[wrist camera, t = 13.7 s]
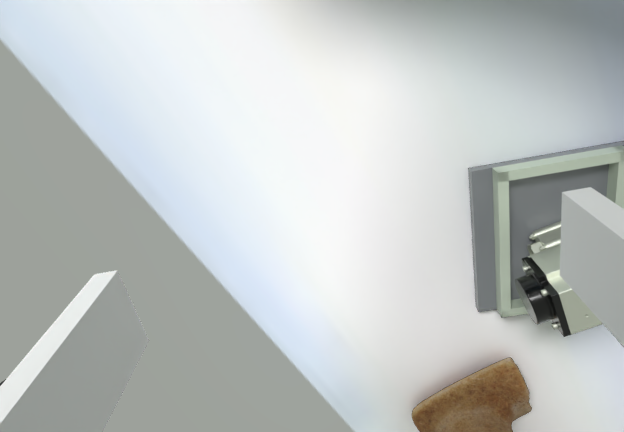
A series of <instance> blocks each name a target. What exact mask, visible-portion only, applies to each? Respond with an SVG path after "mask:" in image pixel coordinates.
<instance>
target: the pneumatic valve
mask: <svg viewBox="0 0 624 432" xmlns="http://www.w3.org/2000/svg"><path fill="white" fill-rule="evenodd" d="M529 238H530V239H532V240H534V239H535V243H532V244H529V245H528V246H527V248H528V251H529V254H530V256H527V257H525V258H522V259H521V260H522V263H523V267H522V268H523V271H524V272H526V275H525V276H522V277H519V278H516V279H515V285H516V288H517V291H518V294H519V296H520V298H521V301H522V303H523V305H524V307H525V308H526V310H527V312H528V314H529V315H530V317H531V319H532V320H533V321H534V322H535V323H536V324H541V323H544V322H547V321H550V320H552V321H553V323H551V325H552V327H553V329H558V330H559V331H560V332H561V334H562V335H563V336H564V337H565V336H568V335H571V334H574V333H577V332H580V331H583V330H586V329H589V328H592V327H595V326H598V325H601V324H603V323H602V322H601V321H600V320H599V319H598V318H597V317H596V316H595V314H594V313H593V312H592V311H591V310H590V309H589V308H588V307H587V305H586V304H585V303H584V302H583V301H582V300H581V299H580V298H579V296H578V295H577V294H576V293H575V292H574V291H573V290H572V289H571V287H570V286H569V285H568V284H567V283H566V282H565V281H564V280H563V279H562V277H561V276H560V246H561V221H559V222H556V223H554V224H551V225H548V226H546V227H543V228H541V229H538V230H535V231H533V232H532V234H531V235H530V236H529Z"/></svg>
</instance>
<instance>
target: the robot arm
mask: <svg viewBox="0 0 624 432" xmlns="http://www.w3.org/2000/svg"><path fill="white" fill-rule="evenodd" d="M560 276H561V277H562V279H563V280H564V281H565V282H566V283H567V284H568V285H569V286H570V287H571V289H572V290H573V291H574V292H575V293H576V294H577V295H578V296H579V298H580V299H581V300H582V301H583V302H584V303H585V304H586V305H587V307H588V308H589V309H590V310H591V311H592V312H593V313H594V314H595V316H596V317H597V318H598V319H599V320H600V321H601V322H602V323H603V325H604V326H605V327H606V328H607V329H608V330H609V331H610V332H611V334H612V335H613V336H614V337H615V338H616V339H617V340H618V341H619V343H620V344H621V345H622V346H623V347H624V209H623V208H621V207H620V206H618V205H617V204H615V203H614V202H612V201H611V200H609V199H608V198H606V197H605V196H603V195H602V194H600V193H599V192H597V191H596V190H594V189H593V188H591V187H588V188H582V189H577V190H571V191H565V192H562V208H561V246H560ZM148 342H149V339H148V336H147V334H146V332H145V330H144V328H143V325H142V323H141V321H140V319H139V317H138V314H137V312H136V310H135V308H134V305H133V303H132V301H131V299H130V297H129V294H128V292H127V290H126V288H125V286H124V283H123V281H122V279H121V277H120V274H119V272H118V271H111V272H105V273H100V274H95V275H93V277H92V278H91V279H90V280H89V282H88V283H87V284H86V285H85V286H84V287H83V289H82V290H81V291H80V292H79V293H78V295H77V296H76V297H75V298H74V299H73V300H72V302H71V303H70V304H69V305H68V307H67V308H66V309H65V310H64V311H63V312H62V314H61V315H60V316H59V317H58V319H57V320H56V321H55V322H54V323H53V324H52V325H51V327H50V328H49V329H48V330H47V331H46V333H45V334H44V335H43V336H42V337H41V338H40V340H39V341H38V342H37V344H35V346H34V347H33V348H32V349H31V351H30V352H29V353H28V354H27V355H26V356H25V358H24V359H23V360H22V361H21V363H20V364H19V365H18V366H17V367H16V369H14V371H13V372H12V373H11V374H10V376H9V377H8V378H7V379H5V380H4V381H3V382H1V383H0V432H103V430H104V428H105V426H106V424H107V422H108V420H109V418H110V416H111V414H112V412H113V410H114V408H115V406H116V404H117V403H118V401H119V399H120V397H121V395H122V393H123V391H124V389H125V387H126V385H127V383H128V381H129V379H130V377H131V375H132V373H133V371H134V369H135V367H136V365H137V363H138V361H139V359H140V357H141V355H142V354H143V352H144V350H145V348H146V346H147V343H148Z"/></svg>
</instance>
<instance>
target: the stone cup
mask: <svg viewBox="0 0 624 432" xmlns="http://www.w3.org/2000/svg"><path fill="white" fill-rule="evenodd" d="M528 401H529V390H528V388H527V386H526V383H525V381H524V378H523V376H522V375H521V373H520V371H519V369H518V367H517V365H516V364H515V363H514V361H513V359H512V358H506V359H504V360H501V361H499V362H497V363H494V364H492V365H490V366H488V367H486V368H484V369H482V370H479V371H477V372H475V373H473V374H471V375H469V376H467V377H465V378H463V379H461V380H459V381H457V382H455V383H454V384H452V385H450V386H448V387H446V388H444V389H442V390H441V391H439V392H438V393H436V394H434V395H432V396H430V397H429V398H427V399H426V400H424V401H422V402H421V403H419V404H418V405H417V406H416V407H415V408H414V409H413V411H412V419H413V421H414V424H415V425H416V427H417V428H418V430H419V431H420V432H513V431H512V427H511V424H512V422H513V421H514V420H516V419H517V418H519V417H521V416H523V415H525V414H527V413H529V412H530V411H531V410H532V407H531V406H530V404H529V402H528Z"/></svg>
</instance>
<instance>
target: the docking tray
mask: <svg viewBox="0 0 624 432" xmlns="http://www.w3.org/2000/svg"><path fill="white" fill-rule="evenodd" d="M468 170H469V188H470V207H471V226H472V244H473V263H474V281H475V300H476V308H477V310H478V312H482V311H489V310H496V309H497V311H498V312H499V314H500V316H501V317H509V316H516V315H523V314H528V312H527V310H526V308H525V307H524V305H523V303H522V301H521V298H520V296H519V294H518V291H517V288H516V285H515V279H516V278H519V277H522V276H525V275H526V272H524V271H523V268H522V267H523V263H522V260H521V259H522V258H525V257H527V256H530V254H529V251H528V248H527V246H528V245H529V244H532V243H535V239H534V240H532V239H530V238H529V236H530V235H531V234H532V232H533V231H535V230H538V229H541V228H543V227H546V226H548V225H551V224H554V223H556V222H559V221H561V208H562V192H565V191H571V190H577V189H582V188H588V187H591V188H593V189H594V190H596V191H597V192H599V193H600V194H602V195H603V196H605V197H606V198H608V199H609V200H611V201H612V202H614V203H615V204H617V205H618V206H620V207H621V208H623V209H624V141H621V142H615V143H609V144H604V145H598V146H592V147H587V148H581V149H575V150H569V151H564V152H558V153H552V154H547V155H541V156H535V157H529V158H524V159H518V160H512V161H507V162H501V163H495V164H489V165H484V166H478V167H472V168H468Z"/></svg>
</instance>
